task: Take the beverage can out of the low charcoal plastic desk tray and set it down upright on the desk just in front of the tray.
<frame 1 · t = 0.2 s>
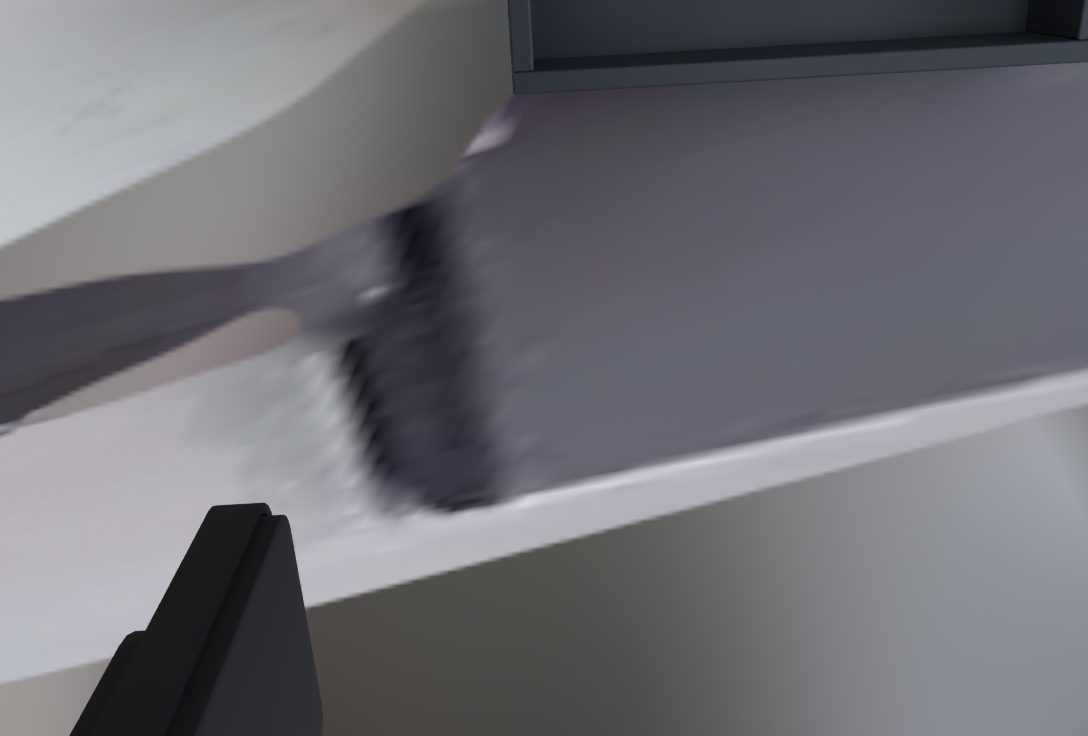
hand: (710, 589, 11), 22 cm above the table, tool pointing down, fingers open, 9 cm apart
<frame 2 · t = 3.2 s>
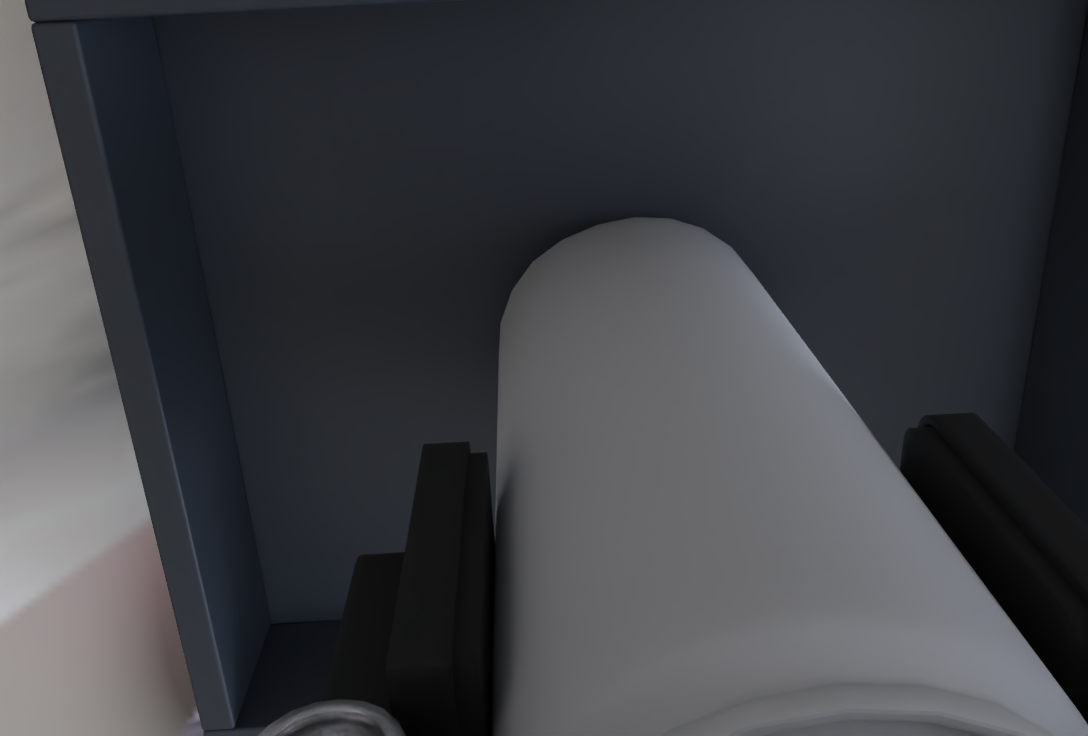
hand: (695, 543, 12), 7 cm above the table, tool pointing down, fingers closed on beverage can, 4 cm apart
beverage can: (629, 329, 18), resting on desk tray, touching gripper
desk tray: (627, 325, 18), on the table
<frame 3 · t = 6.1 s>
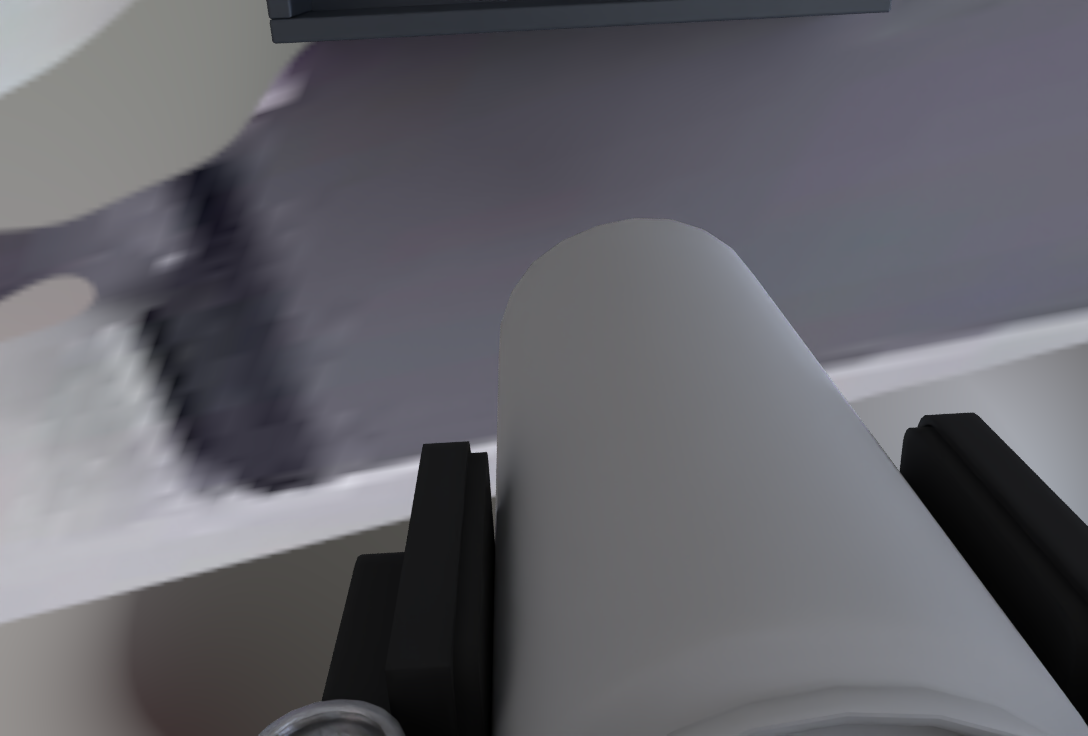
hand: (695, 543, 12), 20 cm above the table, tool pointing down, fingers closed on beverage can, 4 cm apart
beverage can: (629, 330, 18), point 14 cm above the table, touching gripper
when the fingers open (7 cm above the table, at t = 9.5 s): beverage can stays where it is, on the table.
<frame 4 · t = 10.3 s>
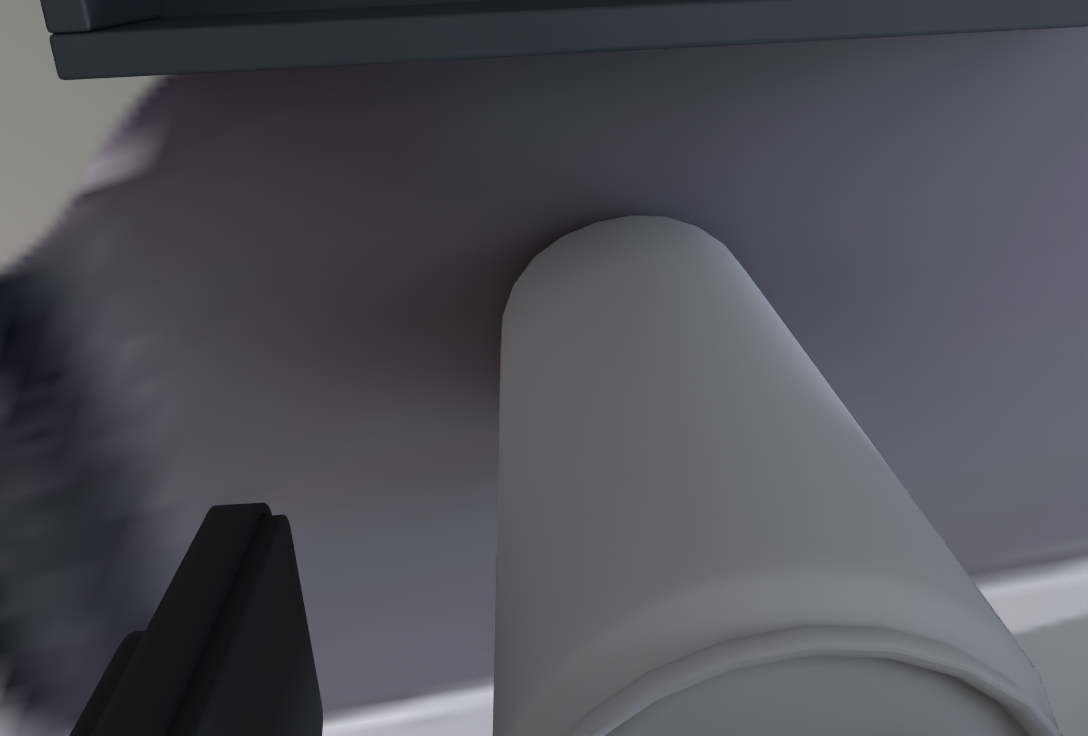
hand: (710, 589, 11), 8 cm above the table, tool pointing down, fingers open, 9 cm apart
beverage can: (625, 323, 19), on the table
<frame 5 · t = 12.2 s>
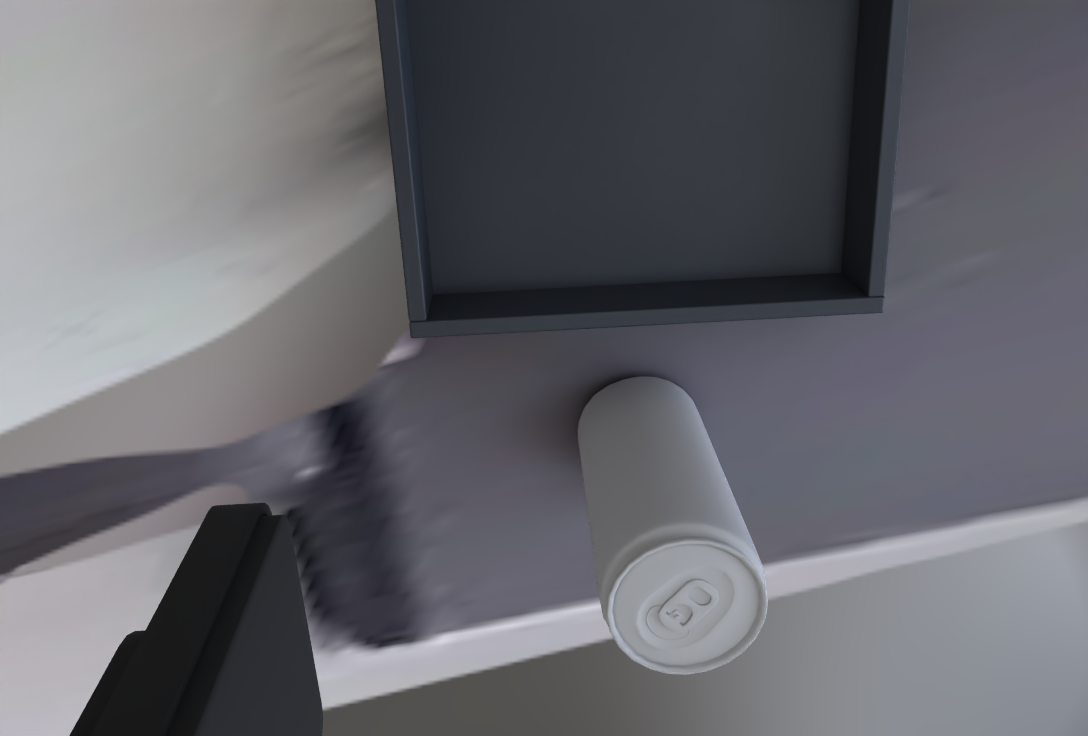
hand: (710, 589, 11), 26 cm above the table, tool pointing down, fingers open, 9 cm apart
beverage can: (636, 423, 39), on the table
desk tray: (634, 114, 34), on the table
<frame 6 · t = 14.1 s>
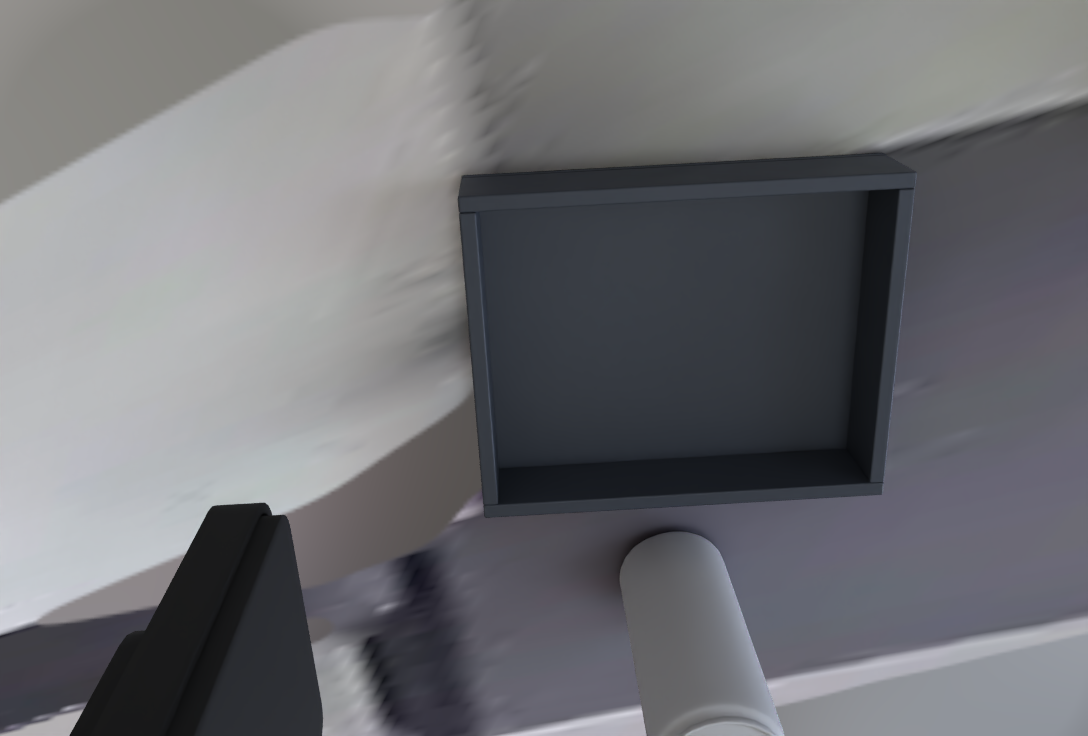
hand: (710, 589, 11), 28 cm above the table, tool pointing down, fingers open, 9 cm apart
beverage can: (669, 565, 45), on the table
desk tray: (672, 324, 40), on the table
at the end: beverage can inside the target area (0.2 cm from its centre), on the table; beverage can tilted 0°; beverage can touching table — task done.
